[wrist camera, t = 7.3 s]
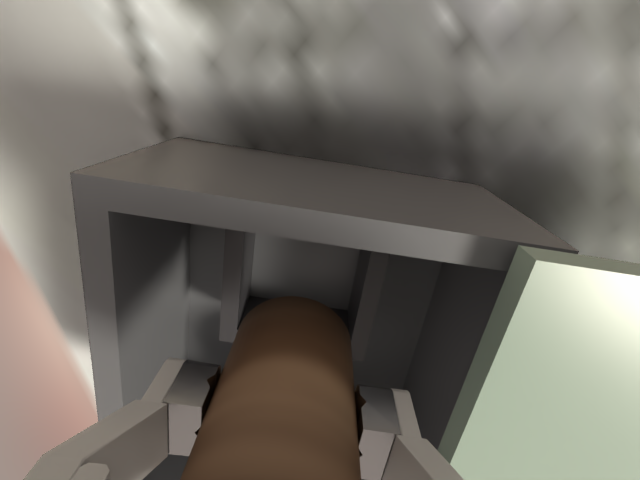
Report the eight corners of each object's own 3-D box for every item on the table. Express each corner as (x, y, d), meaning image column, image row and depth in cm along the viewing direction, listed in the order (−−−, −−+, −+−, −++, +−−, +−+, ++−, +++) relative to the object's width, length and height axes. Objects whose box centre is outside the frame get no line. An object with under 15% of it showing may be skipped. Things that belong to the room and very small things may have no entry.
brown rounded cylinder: (240, 288, 12) (162, 459, 6) (361, 305, 12) (385, 489, 7) (233, 381, 14) (165, 584, 8) (340, 396, 14) (345, 606, 8)
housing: (178, 137, 18) (70, 172, 10) (479, 185, 18) (579, 251, 11) (177, 374, 24) (108, 505, 16) (406, 406, 24) (439, 547, 17)
